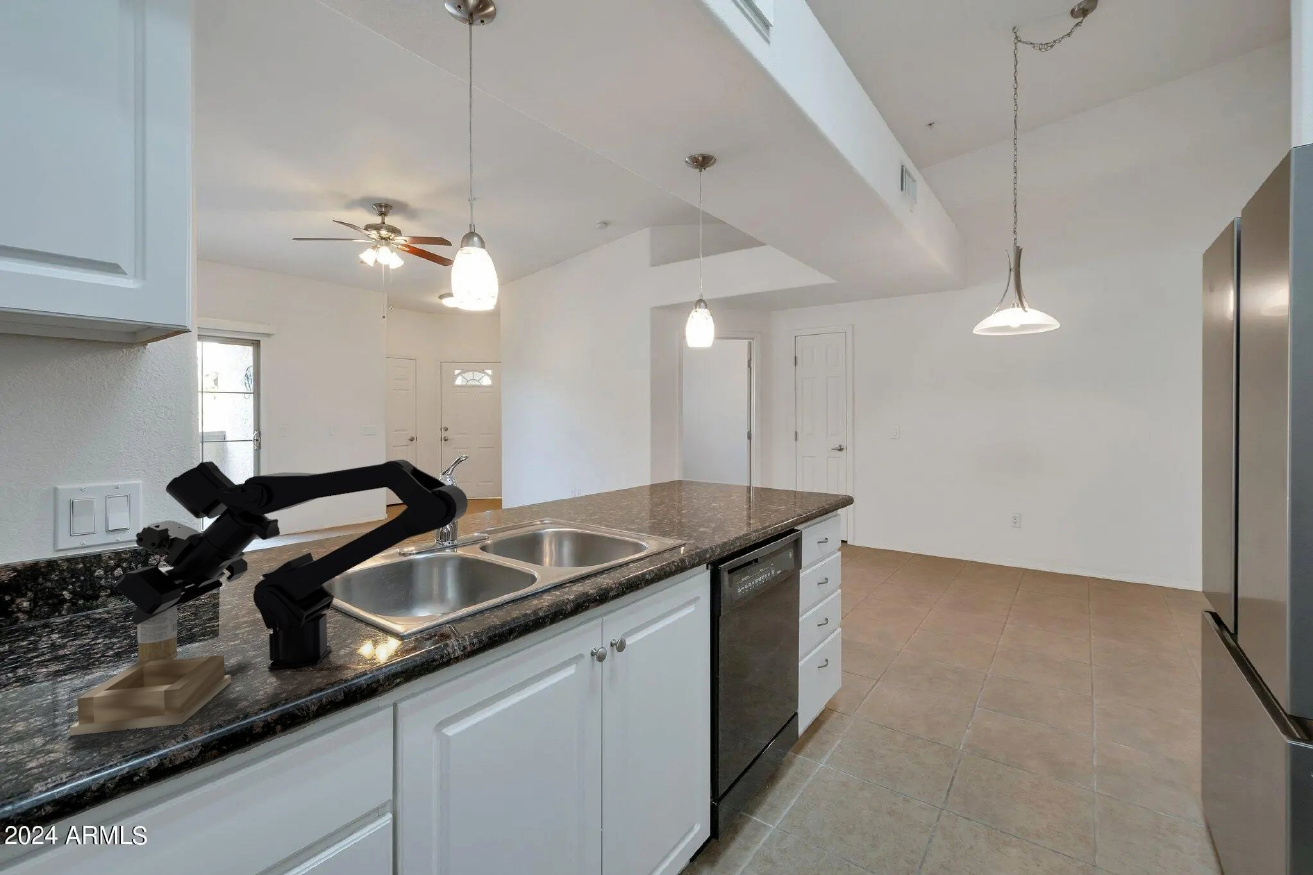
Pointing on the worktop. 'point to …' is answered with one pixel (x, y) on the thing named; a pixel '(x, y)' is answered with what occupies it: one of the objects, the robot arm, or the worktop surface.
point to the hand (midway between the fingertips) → (147, 616)
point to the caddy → (151, 695)
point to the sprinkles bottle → (158, 635)
